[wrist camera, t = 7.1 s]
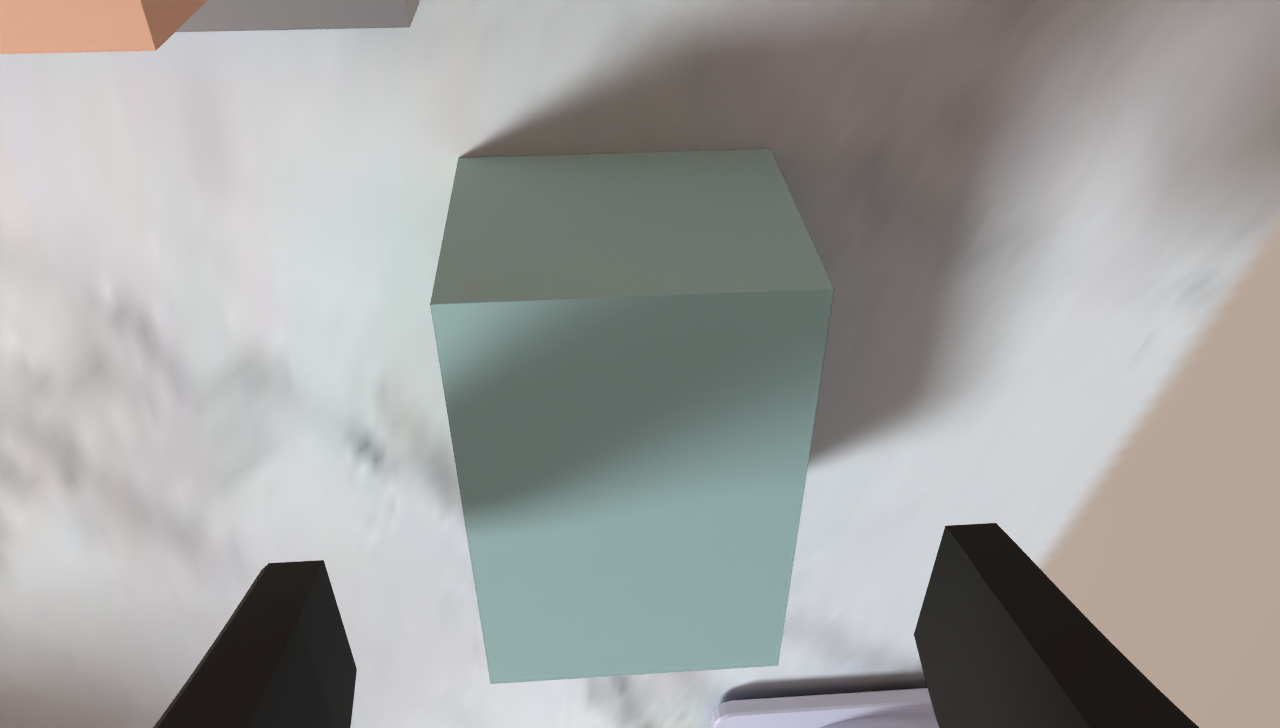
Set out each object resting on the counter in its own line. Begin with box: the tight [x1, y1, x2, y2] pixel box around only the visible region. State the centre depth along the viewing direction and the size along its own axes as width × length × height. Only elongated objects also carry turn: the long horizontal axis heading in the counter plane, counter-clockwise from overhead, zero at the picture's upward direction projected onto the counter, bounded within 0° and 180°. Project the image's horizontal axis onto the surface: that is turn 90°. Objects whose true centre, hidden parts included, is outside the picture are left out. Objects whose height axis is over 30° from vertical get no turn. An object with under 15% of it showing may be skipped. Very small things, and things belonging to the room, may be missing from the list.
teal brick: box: [430, 149, 834, 684], centre depth 14 cm, size 7×4×4 cm, turn 0°
